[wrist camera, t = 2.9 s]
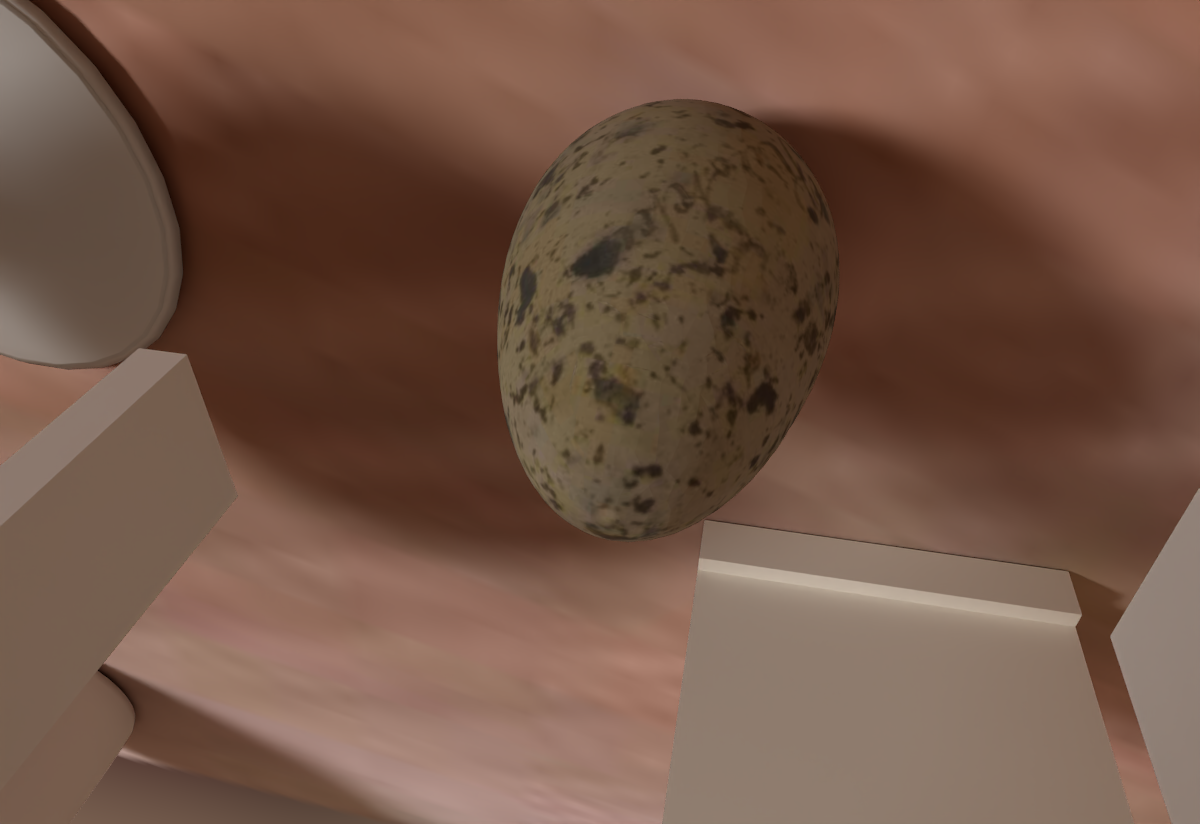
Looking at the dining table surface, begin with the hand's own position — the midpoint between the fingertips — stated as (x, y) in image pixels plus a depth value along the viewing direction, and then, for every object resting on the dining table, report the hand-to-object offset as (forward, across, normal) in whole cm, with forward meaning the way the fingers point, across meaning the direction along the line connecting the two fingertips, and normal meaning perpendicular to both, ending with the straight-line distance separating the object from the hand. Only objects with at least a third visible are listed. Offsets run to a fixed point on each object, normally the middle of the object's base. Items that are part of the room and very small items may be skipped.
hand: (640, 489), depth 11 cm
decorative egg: (+10, 0, 0) cm, 10 cm away
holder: (+10, +6, -17) cm, 20 cm away
